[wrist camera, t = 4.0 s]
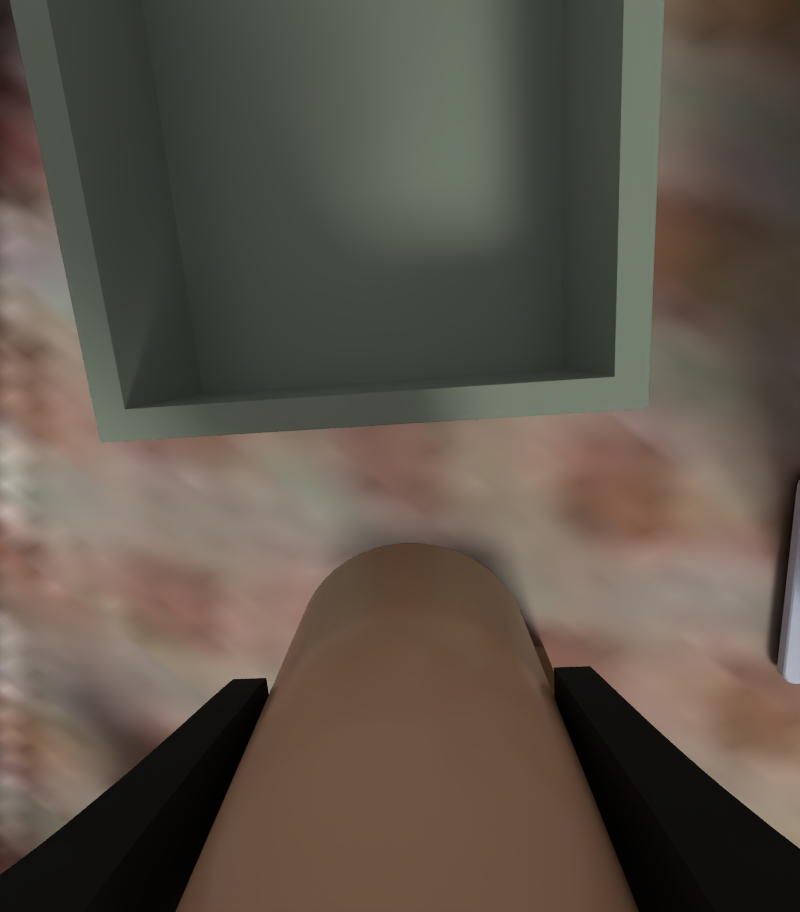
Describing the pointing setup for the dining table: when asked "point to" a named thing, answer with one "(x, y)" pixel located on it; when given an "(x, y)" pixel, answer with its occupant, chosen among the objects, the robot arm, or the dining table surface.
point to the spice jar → (409, 761)
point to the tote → (350, 206)
